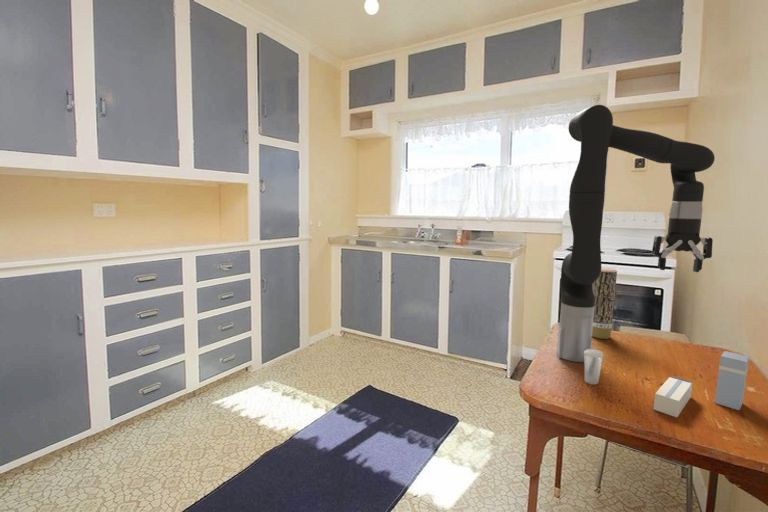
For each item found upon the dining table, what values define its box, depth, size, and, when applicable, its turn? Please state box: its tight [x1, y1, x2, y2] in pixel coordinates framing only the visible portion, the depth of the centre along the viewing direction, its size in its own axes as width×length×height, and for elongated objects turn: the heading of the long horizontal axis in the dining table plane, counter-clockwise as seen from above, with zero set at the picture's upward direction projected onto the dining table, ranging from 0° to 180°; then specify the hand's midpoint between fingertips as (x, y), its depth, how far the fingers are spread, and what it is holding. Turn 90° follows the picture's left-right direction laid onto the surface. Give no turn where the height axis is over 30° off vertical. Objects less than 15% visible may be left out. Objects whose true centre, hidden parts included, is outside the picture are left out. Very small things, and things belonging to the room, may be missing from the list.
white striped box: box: [653, 375, 693, 418], centre depth 92 cm, size 15×4×4 cm, turn 131°
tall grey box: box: [714, 350, 750, 411], centre depth 91 cm, size 5×5×12 cm
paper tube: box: [592, 267, 618, 340], centre depth 136 cm, size 7×7×25 cm
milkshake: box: [583, 342, 604, 385], centre depth 102 cm, size 4×5×10 cm
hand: (678, 270), depth 114 cm, fingers open, 8 cm apart
